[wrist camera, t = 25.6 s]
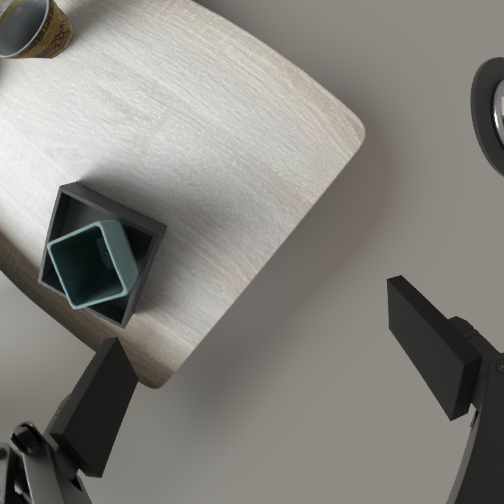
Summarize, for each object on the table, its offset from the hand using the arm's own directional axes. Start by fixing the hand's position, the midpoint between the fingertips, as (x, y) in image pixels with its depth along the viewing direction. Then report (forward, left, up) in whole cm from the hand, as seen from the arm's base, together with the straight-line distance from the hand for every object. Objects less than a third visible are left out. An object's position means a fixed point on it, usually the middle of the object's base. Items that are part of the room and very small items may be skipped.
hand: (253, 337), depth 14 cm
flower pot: (+14, +12, -28) cm, 34 cm away
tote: (+17, +14, -29) cm, 36 cm away
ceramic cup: (+39, -11, -29) cm, 50 cm away
